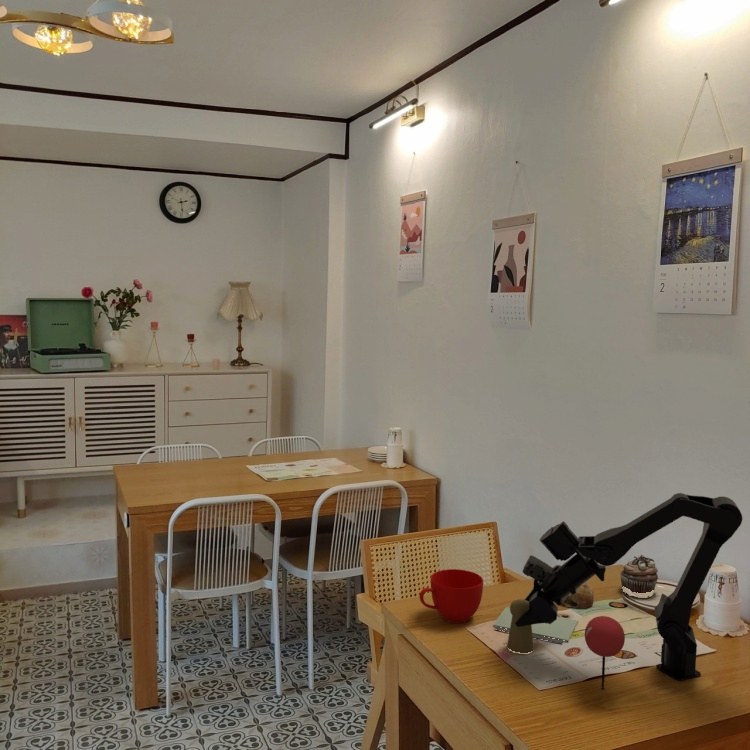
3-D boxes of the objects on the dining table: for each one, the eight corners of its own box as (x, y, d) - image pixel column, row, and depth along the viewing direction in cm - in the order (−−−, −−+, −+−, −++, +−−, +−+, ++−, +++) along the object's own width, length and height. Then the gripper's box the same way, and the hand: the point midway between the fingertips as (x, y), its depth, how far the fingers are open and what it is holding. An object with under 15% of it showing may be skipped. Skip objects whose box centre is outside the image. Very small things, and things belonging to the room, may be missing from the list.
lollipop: (591, 675, 158) (595, 607, 156) (627, 688, 153) (631, 617, 151) (576, 689, 152) (579, 618, 150) (613, 703, 147) (616, 629, 145)
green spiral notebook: (578, 622, 184) (578, 620, 184) (568, 642, 173) (568, 640, 173) (506, 608, 191) (506, 606, 191) (492, 626, 181) (492, 624, 181)
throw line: (563, 641, 173) (563, 640, 173) (562, 644, 172) (562, 643, 172) (496, 627, 180) (496, 626, 180) (494, 630, 179) (494, 629, 179)
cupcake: (632, 583, 210) (633, 548, 209) (663, 594, 203) (665, 558, 202) (611, 591, 204) (613, 555, 203) (643, 602, 197) (645, 565, 196)
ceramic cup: (406, 615, 187) (407, 576, 186) (463, 603, 194) (464, 566, 193) (433, 636, 175) (434, 594, 174) (492, 622, 183) (494, 583, 182)
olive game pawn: (532, 643, 172) (534, 597, 171) (535, 655, 166) (537, 607, 165) (505, 641, 173) (507, 595, 172) (507, 653, 167) (509, 606, 166)
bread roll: (553, 616, 196) (553, 594, 192) (555, 587, 204) (556, 566, 200) (592, 621, 193) (593, 599, 189) (593, 592, 201) (594, 570, 197)
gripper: (548, 534, 175) (499, 574, 179) (542, 561, 157) (488, 604, 161) (581, 571, 173) (531, 611, 178) (579, 602, 155) (523, 645, 160)
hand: (518, 616), depth 169 cm, fingers open, 9 cm apart
